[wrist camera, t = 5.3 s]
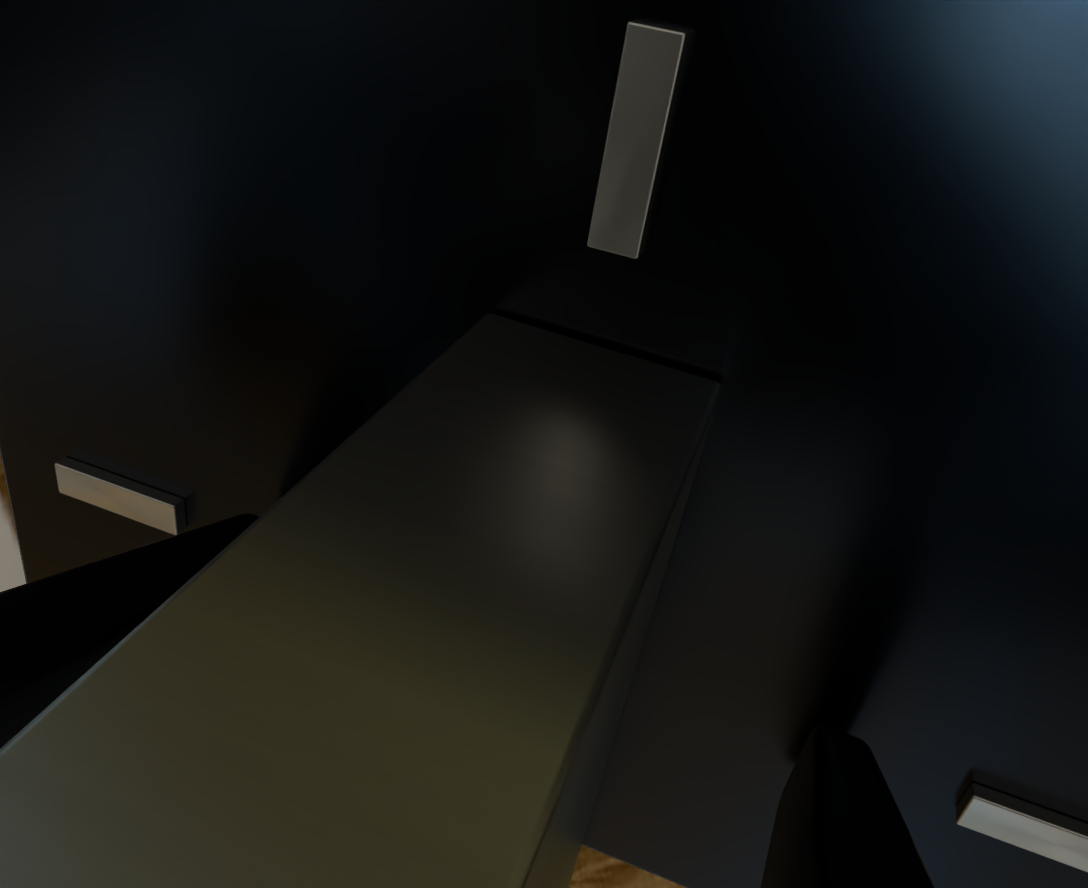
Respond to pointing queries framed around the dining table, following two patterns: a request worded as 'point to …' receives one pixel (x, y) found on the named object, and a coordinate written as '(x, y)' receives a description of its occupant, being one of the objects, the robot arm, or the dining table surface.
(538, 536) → the dial
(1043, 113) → the console
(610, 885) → the dining table surface
